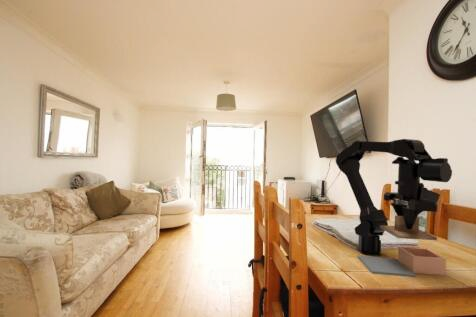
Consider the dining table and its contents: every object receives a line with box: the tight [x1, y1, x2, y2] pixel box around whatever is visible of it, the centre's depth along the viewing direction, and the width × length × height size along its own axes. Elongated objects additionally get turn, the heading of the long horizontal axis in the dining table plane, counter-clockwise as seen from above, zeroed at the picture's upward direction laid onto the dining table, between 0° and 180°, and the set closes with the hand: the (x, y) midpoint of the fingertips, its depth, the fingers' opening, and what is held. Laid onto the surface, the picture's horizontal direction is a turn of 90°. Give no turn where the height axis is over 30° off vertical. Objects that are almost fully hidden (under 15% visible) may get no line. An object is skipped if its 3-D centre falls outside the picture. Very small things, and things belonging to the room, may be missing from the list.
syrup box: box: [417, 211, 428, 233], centre depth 114 cm, size 6×6×14 cm
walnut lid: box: [380, 215, 438, 241], centre depth 80 cm, size 11×11×5 cm
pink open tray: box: [397, 246, 447, 276], centre depth 80 cm, size 9×9×5 cm
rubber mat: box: [357, 255, 416, 278], centre depth 80 cm, size 12×12×1 cm
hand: (406, 227), depth 80 cm, fingers closed on walnut lid, 2 cm apart
